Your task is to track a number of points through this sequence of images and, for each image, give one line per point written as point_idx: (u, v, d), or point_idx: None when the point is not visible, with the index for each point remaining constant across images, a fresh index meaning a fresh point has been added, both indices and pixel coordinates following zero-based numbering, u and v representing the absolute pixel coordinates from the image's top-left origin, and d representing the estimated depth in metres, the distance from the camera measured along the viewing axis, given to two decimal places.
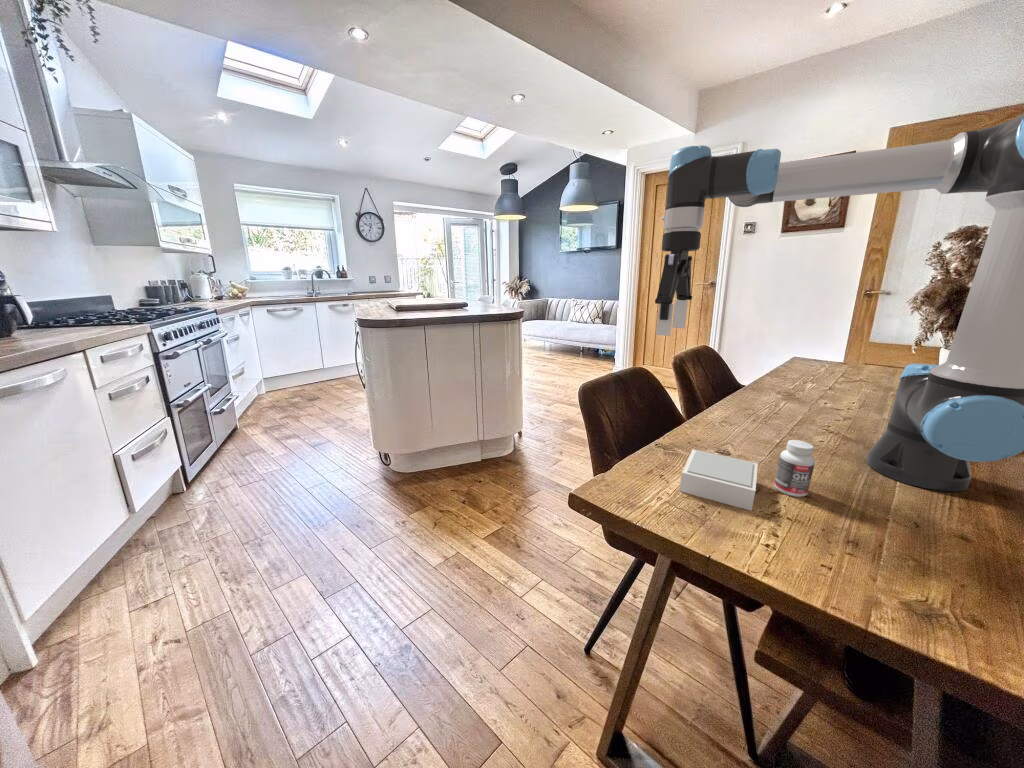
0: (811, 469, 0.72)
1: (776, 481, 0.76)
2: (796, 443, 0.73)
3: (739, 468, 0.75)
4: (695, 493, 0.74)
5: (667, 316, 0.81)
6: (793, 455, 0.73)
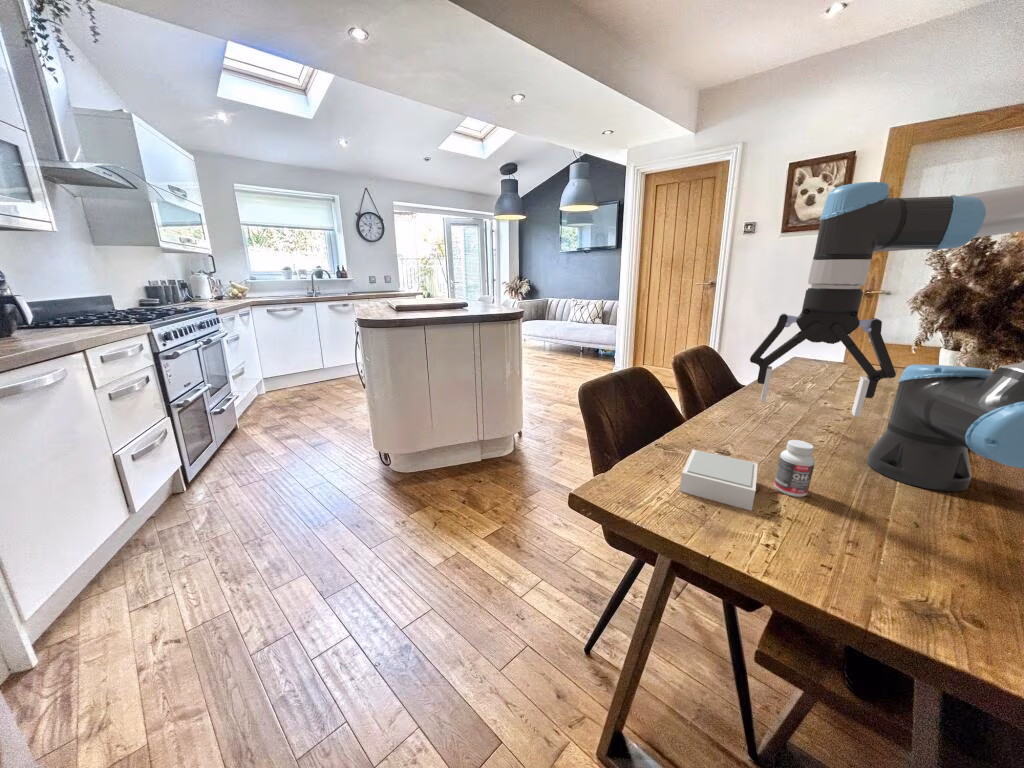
0: (811, 469, 0.72)
1: (776, 481, 0.76)
2: (796, 443, 0.73)
3: (739, 468, 0.75)
4: (695, 493, 0.74)
5: (760, 380, 0.73)
6: (793, 455, 0.73)
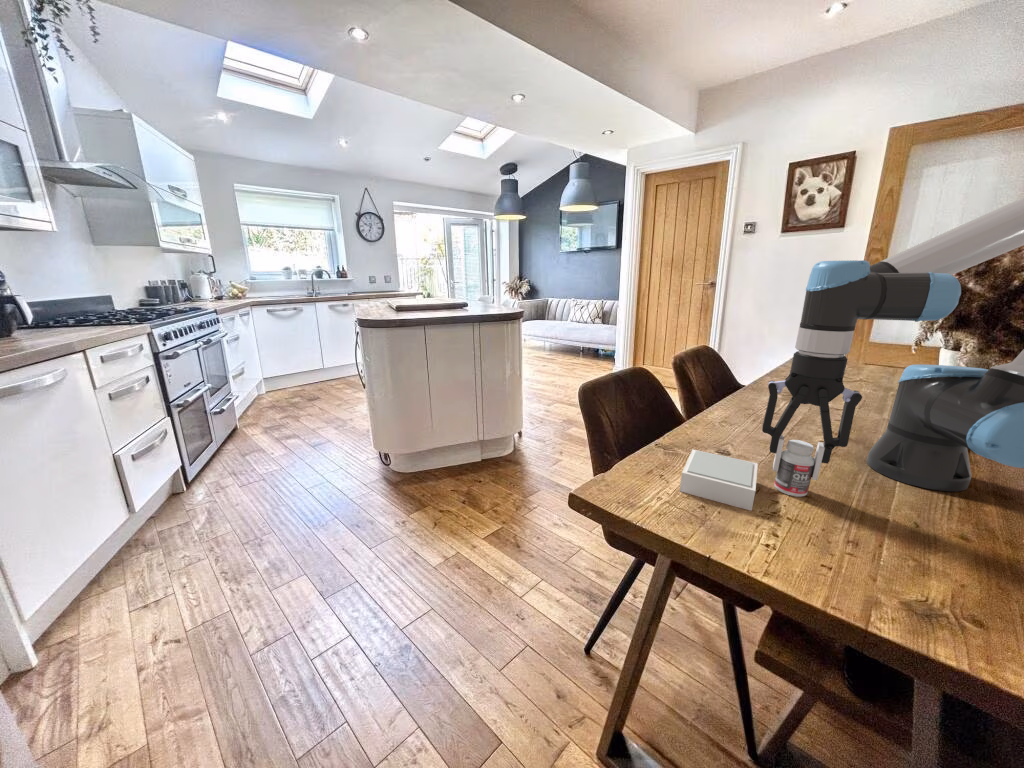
0: (811, 469, 0.72)
1: (776, 481, 0.76)
2: (796, 443, 0.73)
3: (739, 468, 0.75)
4: (695, 493, 0.74)
5: (772, 449, 0.75)
6: (793, 455, 0.73)
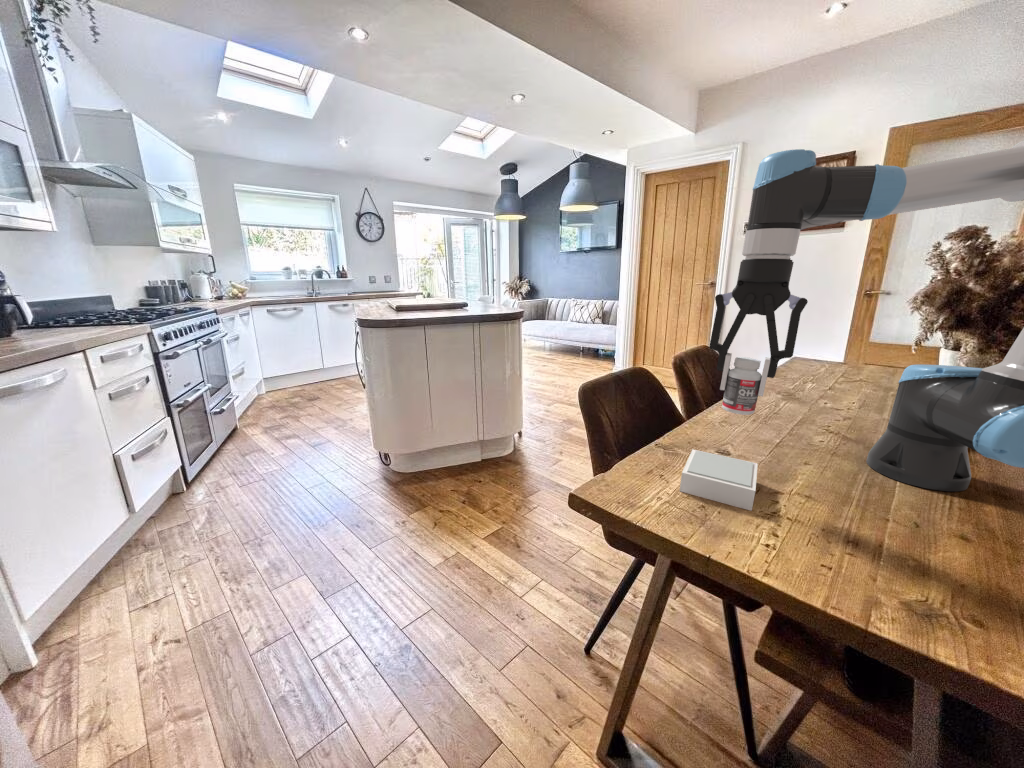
0: (757, 384, 0.69)
1: (723, 401, 0.73)
2: (743, 358, 0.70)
3: (739, 468, 0.75)
4: (695, 493, 0.74)
5: (719, 367, 0.72)
6: (739, 371, 0.70)
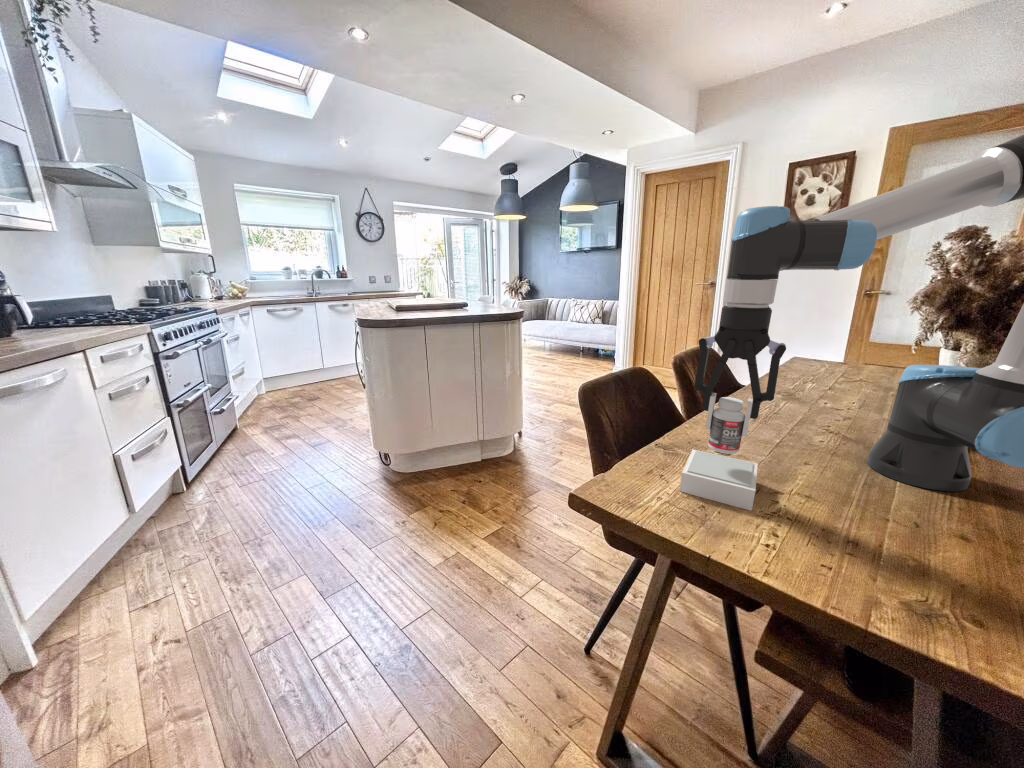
0: (740, 425, 0.71)
1: (709, 439, 0.75)
2: (727, 399, 0.72)
3: (739, 468, 0.75)
4: (695, 493, 0.74)
5: (704, 407, 0.74)
6: (723, 412, 0.72)
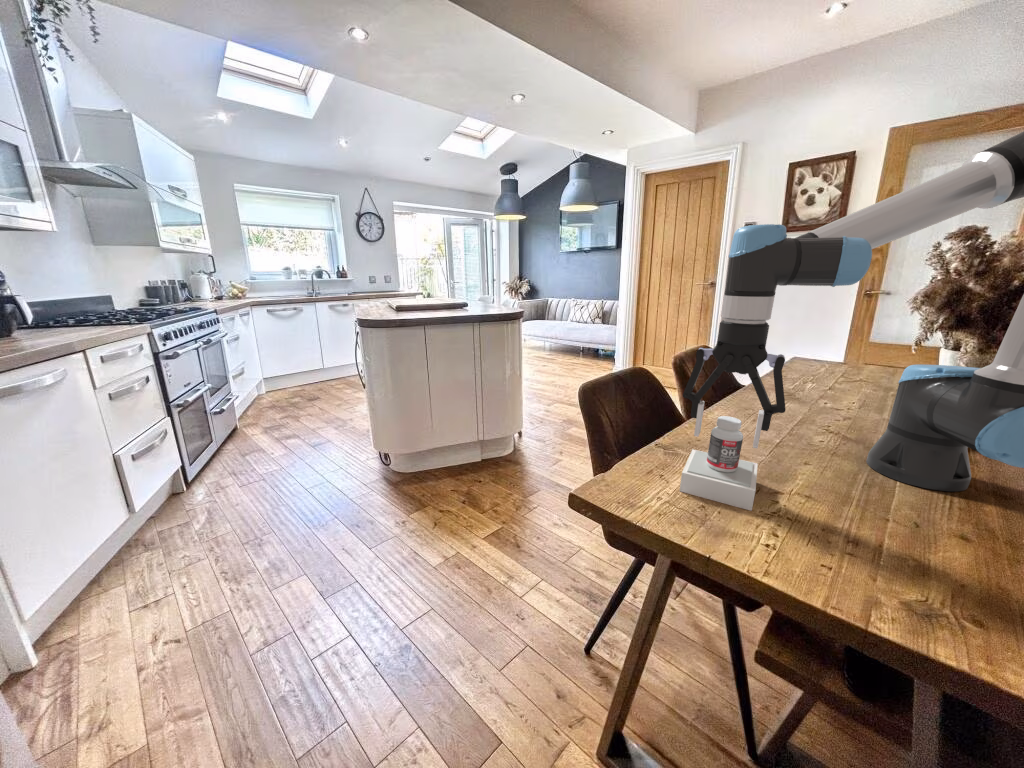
0: (739, 444, 0.72)
1: (707, 457, 0.76)
2: (725, 419, 0.73)
3: (739, 468, 0.75)
4: (695, 493, 0.74)
5: (693, 414, 0.76)
6: (721, 431, 0.73)
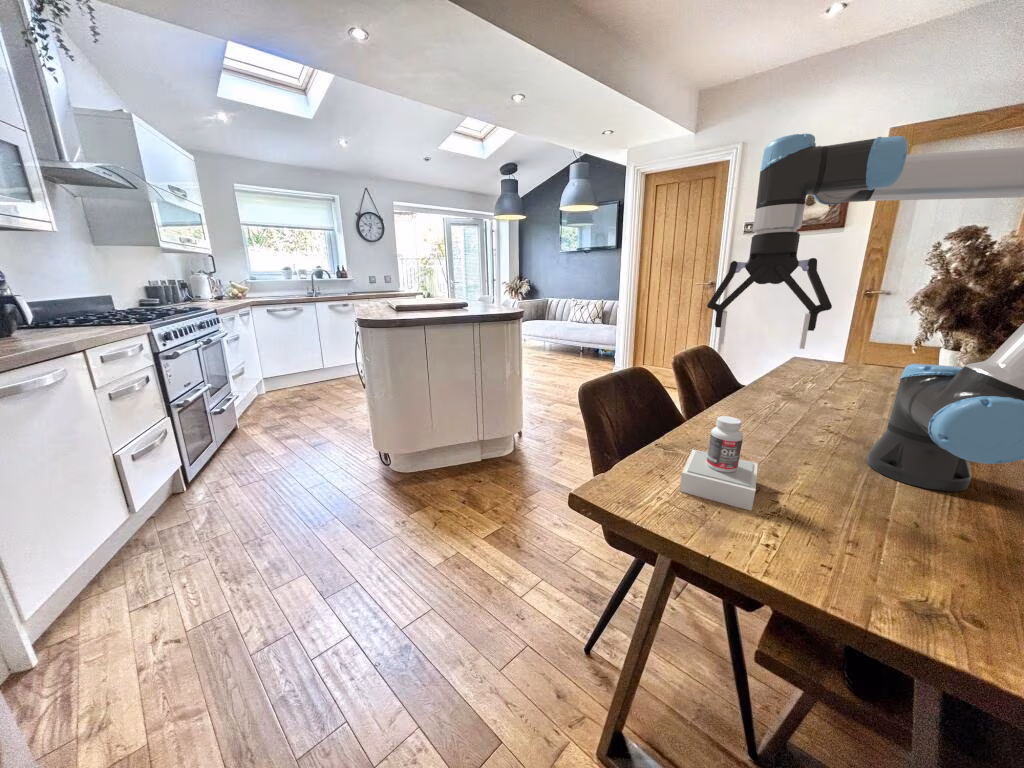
0: (738, 444, 0.72)
1: (707, 458, 0.76)
2: (725, 419, 0.73)
3: (739, 468, 0.75)
4: (695, 493, 0.74)
5: (717, 324, 0.80)
6: (721, 431, 0.73)
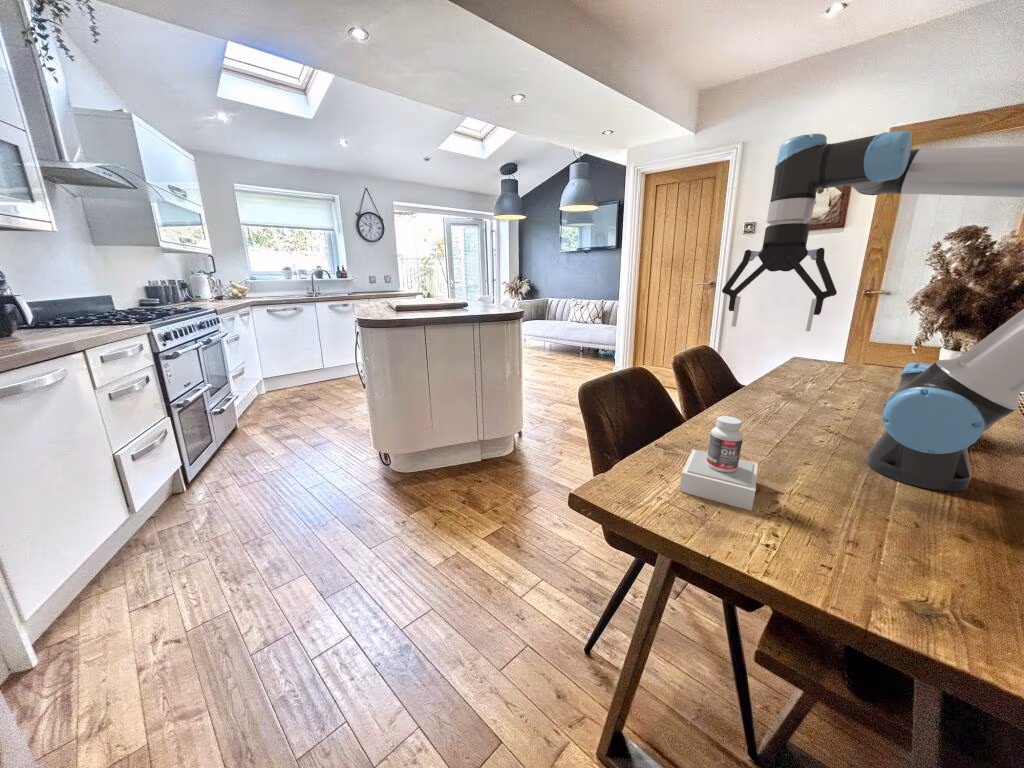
0: (738, 444, 0.72)
1: (707, 458, 0.76)
2: (725, 419, 0.73)
3: (739, 468, 0.75)
4: (695, 493, 0.74)
5: (730, 308, 0.88)
6: (721, 431, 0.73)
